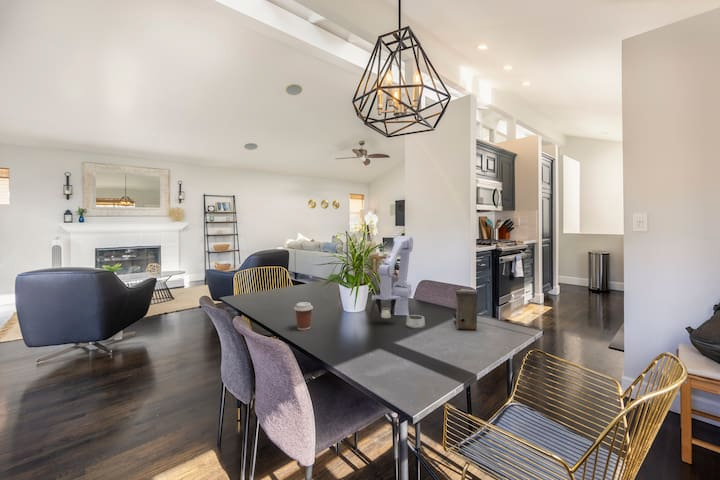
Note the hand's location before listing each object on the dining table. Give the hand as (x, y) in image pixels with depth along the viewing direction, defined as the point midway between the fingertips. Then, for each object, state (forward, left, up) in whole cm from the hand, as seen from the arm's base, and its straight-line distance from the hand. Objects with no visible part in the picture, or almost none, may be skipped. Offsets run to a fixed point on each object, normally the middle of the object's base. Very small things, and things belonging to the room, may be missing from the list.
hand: (386, 313), depth 170 cm
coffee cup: (+12, -40, -5) cm, 42 cm away
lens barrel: (+2, +15, -5) cm, 16 cm away
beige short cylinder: (0, 0, -2) cm, 2 cm away
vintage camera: (-1, +39, -5) cm, 39 cm away
